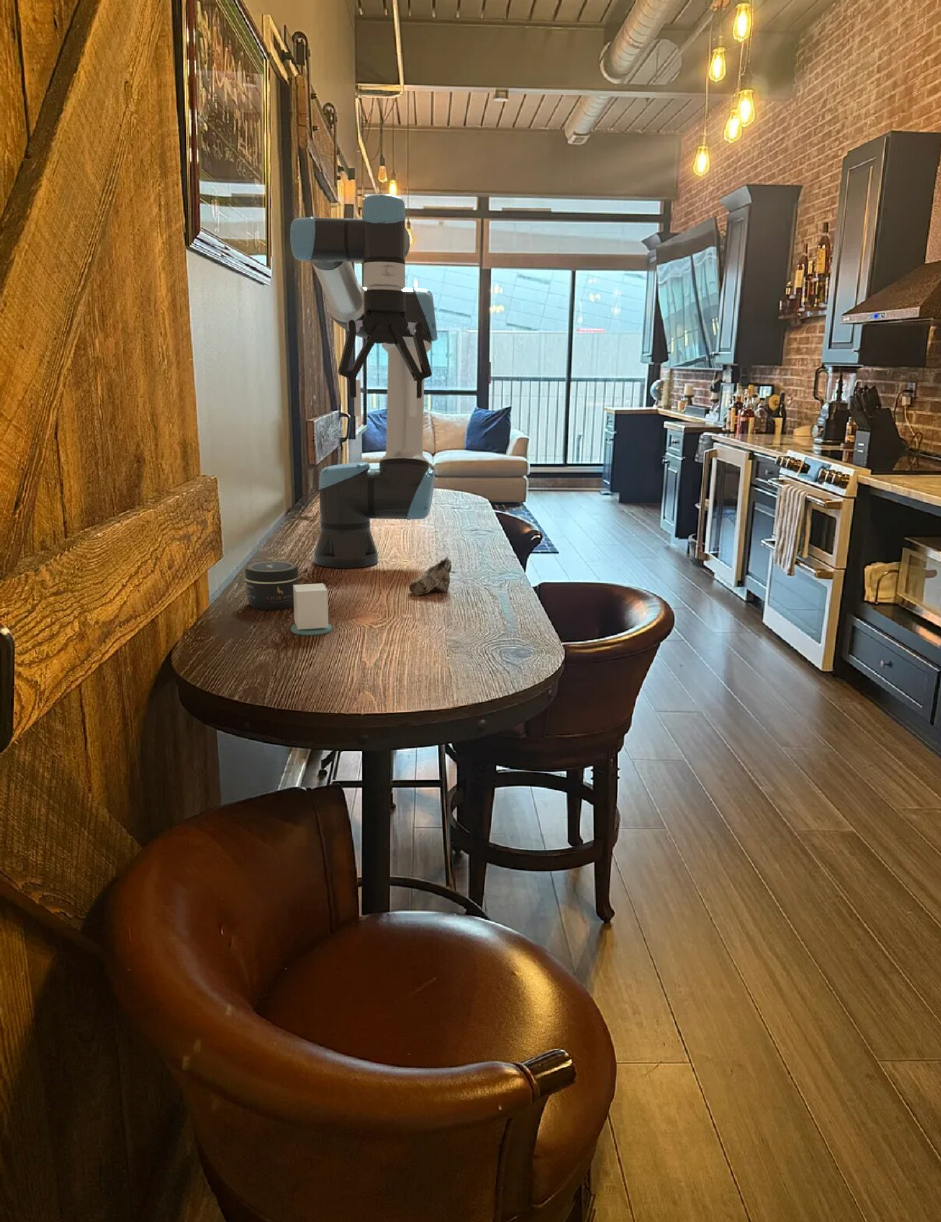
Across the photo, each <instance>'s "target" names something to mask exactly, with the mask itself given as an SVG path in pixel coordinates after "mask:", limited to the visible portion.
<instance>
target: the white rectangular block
mask: <svg viewBox="0 0 941 1222" xmlns="http://www.w3.org/2000/svg"><path fill="white" fill-rule="evenodd" d="M293 593H294V606H293V615H294V619H293V620H294V624H296V626H297V629H313V628H328V623H329V601H328V600H329V597H328V594H329V593H328V589H327V587H326V585H325V584H324V582H323V583H305V584H304V583H302V584H298V585H293Z"/></svg>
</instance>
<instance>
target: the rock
mask: <svg viewBox="0 0 941 1222" xmlns="http://www.w3.org/2000/svg"><path fill="white" fill-rule="evenodd" d="M451 571H452V561H451V560H450V559H449V556H447V555H446V556H445V558H444V559H440V561H439V562H438V563H435V564H434V565H432V566H431V567H429V568H428V569H427V570H425V572H424V574H423V575H422V576H420V577H418V578H415V579H414V580H413V581H412V582H411V583H410V585H409V586H408V589H409V592H410V593H412V595H414V596H415V597H416V596H419V595H420V596H422V595H426V594H429V592H436V593H447V592H448V591H449V588H450V583H451V577H450V573H451Z"/></svg>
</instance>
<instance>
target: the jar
mask: <svg viewBox="0 0 941 1222" xmlns="http://www.w3.org/2000/svg"><path fill="white" fill-rule="evenodd" d="M298 567H299V566H298V565H297V564H296V563H292V562H289V561H279V560H278V561H277V560H276V561H260V562H255V563H252V564H251V563H250V564H248V565H247V566H246V567H245V570H244V571H245V574H244V576H245V577H244V579H245V589H246V590H245V591H246V599H247V602H248V605H249V606H251V608H253V609H255V610H260V611H281V610H287V609H290V608H294V593H293V585H299V568H298Z"/></svg>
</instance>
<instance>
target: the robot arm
mask: <svg viewBox="0 0 941 1222" xmlns="http://www.w3.org/2000/svg"><path fill="white" fill-rule="evenodd" d="M405 205H406V204H405V201H404V199H403V198H402V197H400V196H397V195H394V194H393V195H392V194H381V193H380V194H372V195H367V196H366V197H364V199H363V201H362V214H361V218H347V217H346V218H342V217H338V218H337V217H314V216H309V217H298V218H294V219H293V220H292V221H291V224H290V232H289V236H290V239H289V240H290V248H291V253H292V255H293V257H294V259H295V260H297V261H304V262H311V265H312V267H313V269H314V271H315V273H316V275H317V278H318V282H319V283H320V286H321V288H322V289H323V292H324V293H325V301H324V302H325V307H326V309H327V312H328V314H329V316H330V317H331V319H332V320H333V321H334V322H335V324H337V325H338V326H339V327H340V328H342V329H344V330H345V331H346V332H347V334H346V338H345V342H344V346H343V350H342V354H341V357H340V361H339V366H338V370H337V374H338V375H339V376H342V377H345V378H346V379H347V384H348V385H347V388H348V391H347V392H348V396H349V398H353V402H354V403H353V404H354V405H353V407H354V408H353V409H354V413H353V414H354V417H362V399H361V398H362V396H361V395H362V394H361V393H362V392H361V390H362V389H361V384H362V383H361V379H357V378H358V374H359V373H360V371H361V369H362V368H363V365H364V364H365V361H366V359H367V358H368V356H369V354H370V353H371V350H372V348H373V347H374V345H375V344H381V347H382V348H383V349H384V351H385V352H386V353H387V384H386V385H387V388H386V389H387V390H386V393H387V394H386V396H387V397H386V432H385V433H386V434H385V435H386V438H385V439H386V440H385V441H386V442H385V443H386V445H385V454H384V455H383V457H381V458H380V459H379V465H378V468H371V465H370V463H369V462H368V461H361V462H360V461H358V462H349V463H348V462H347V463H341V464H340V463H339V464H334V465H329V466H325V467H323V469H321V470H320V472H319V480H318V481H319V484H318V490H319V493H318V494H319V515H320V516H319V518H320V532H319V535H318V539H317V541H316V544H315V548H314V551H313V563H314V564H315V565H317V566H319V567H320V566H321V567H323V568H324V567H325V568H333V569H334V568H336V569H353V568H355V569H356V568H364V567H369V566H373V565H375V564H378V562H379V551H378V549H377V547H376V544H375V541H374V537H373V534H372V532H371V519H372V520H373V519H374V520H375V519H376V520H406V521H410V520H423V519H424V520H425V519H426V518H427V517H428V516H429V514H430V511H431V507H432V501H433V498H434V496H433V495H434V489H435V480H436V472H435V470H434V469H432V468H430V461H429V460H428V459H426V457H425V456H424V409H425V408H424V403H425V402H424V401H425V397H424V396H425V379H427V378H430V377H432V375H433V372H432V369H431V365H430V361H429V357H428V352H430V350H431V349H432V342H435V341H437V340H438V331H437V323H436V312H435V303H434V296H433V293H432V291H431V290H429V289H427V288H418V287H413V286H411V287H406V257H407V256H408V254H409V252H410V247H411V240H410V239H411V238H410V234H409V231H408V230H407V228H406V217H407V214H406V208H405V207H406V206H405ZM355 262H360V263H362V264H363V286H362V284H360V283H359V281H358V278H357V276H356V273H355V270H354V268H353V263H355ZM356 337H358V338H362V339H365V341H364V343H363V346H362V347H361V349H360V351H359V353H358V354H357V357H356V359H355V361H354V363H353V364H352V366H351V368H350V369H349V370H348V368H349V366H350V361H351V356H352V352H353V348H354V345H355V340H356Z"/></svg>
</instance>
